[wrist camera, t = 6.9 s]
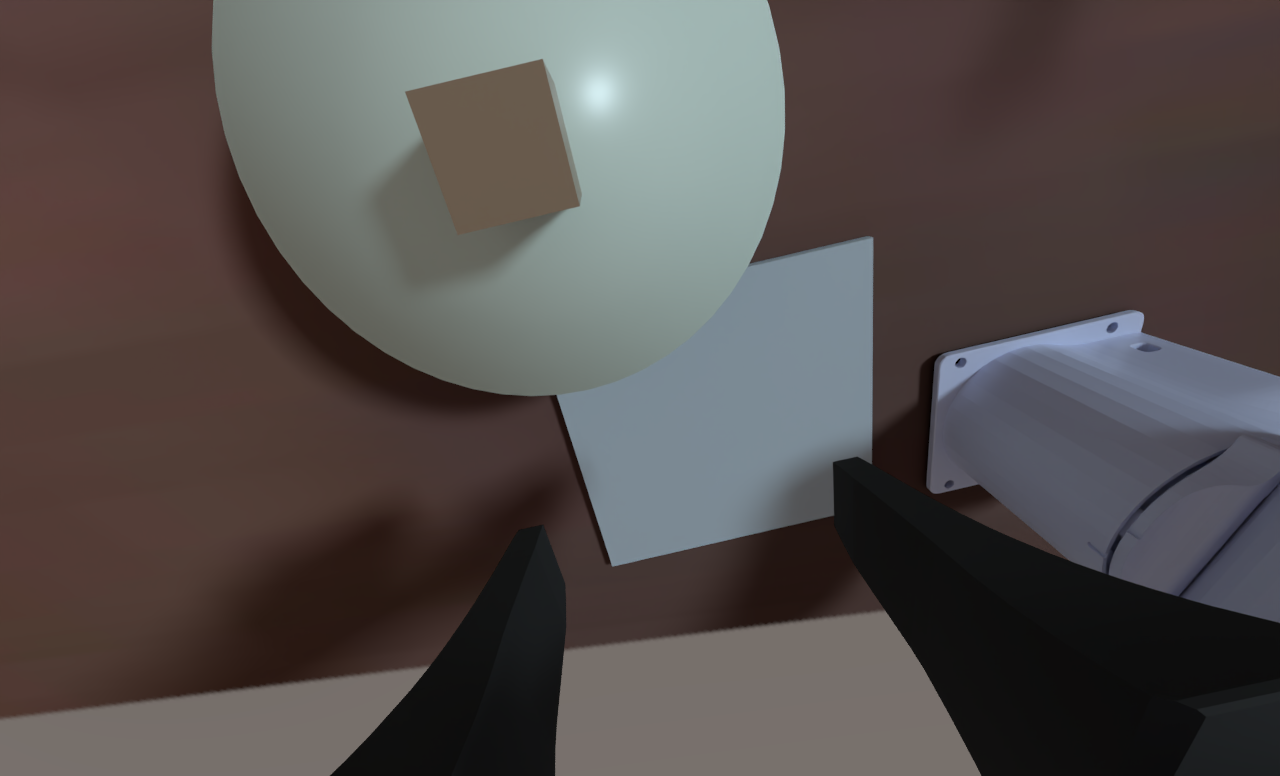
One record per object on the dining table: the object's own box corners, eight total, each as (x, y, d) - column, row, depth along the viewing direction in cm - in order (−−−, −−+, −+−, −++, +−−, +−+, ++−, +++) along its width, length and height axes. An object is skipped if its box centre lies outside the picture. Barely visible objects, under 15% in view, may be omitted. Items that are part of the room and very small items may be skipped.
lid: (745, -290, 10) (838, -555, 6) (791, 332, 16) (853, 385, 12) (95, -133, 10) (-193, -301, 6) (386, 426, 16) (326, 508, 13)
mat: (868, 235, 20) (873, 237, 19) (867, 501, 26) (871, 506, 25) (532, 314, 20) (531, 317, 19) (611, 560, 26) (612, 566, 26)
